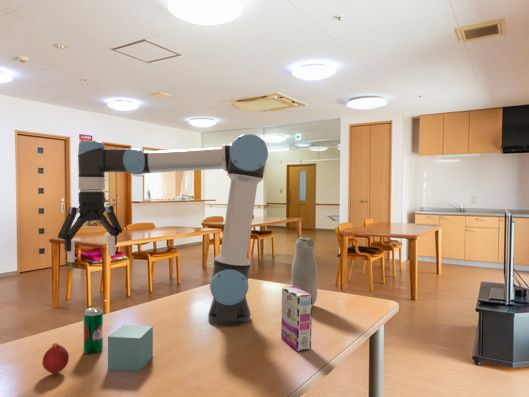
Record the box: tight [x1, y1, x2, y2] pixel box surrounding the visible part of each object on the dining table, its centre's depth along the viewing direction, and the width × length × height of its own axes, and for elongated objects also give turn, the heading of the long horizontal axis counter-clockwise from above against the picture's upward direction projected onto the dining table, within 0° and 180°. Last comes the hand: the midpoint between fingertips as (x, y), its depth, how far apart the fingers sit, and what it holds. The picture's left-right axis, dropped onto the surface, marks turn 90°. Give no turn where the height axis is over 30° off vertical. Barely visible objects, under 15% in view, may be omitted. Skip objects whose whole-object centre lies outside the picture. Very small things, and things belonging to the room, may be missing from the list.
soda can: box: [83, 307, 104, 355], centre depth 110 cm, size 5×5×12 cm
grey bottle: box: [291, 236, 319, 306], centre depth 154 cm, size 10×10×28 cm
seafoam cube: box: [107, 324, 154, 372], centre depth 103 cm, size 9×9×9 cm
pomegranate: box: [42, 342, 70, 376], centre depth 96 cm, size 6×6×8 cm
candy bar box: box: [280, 286, 313, 353], centre depth 117 cm, size 11×5×16 cm, turn 23°
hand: (92, 258), depth 121 cm, fingers open, 13 cm apart
